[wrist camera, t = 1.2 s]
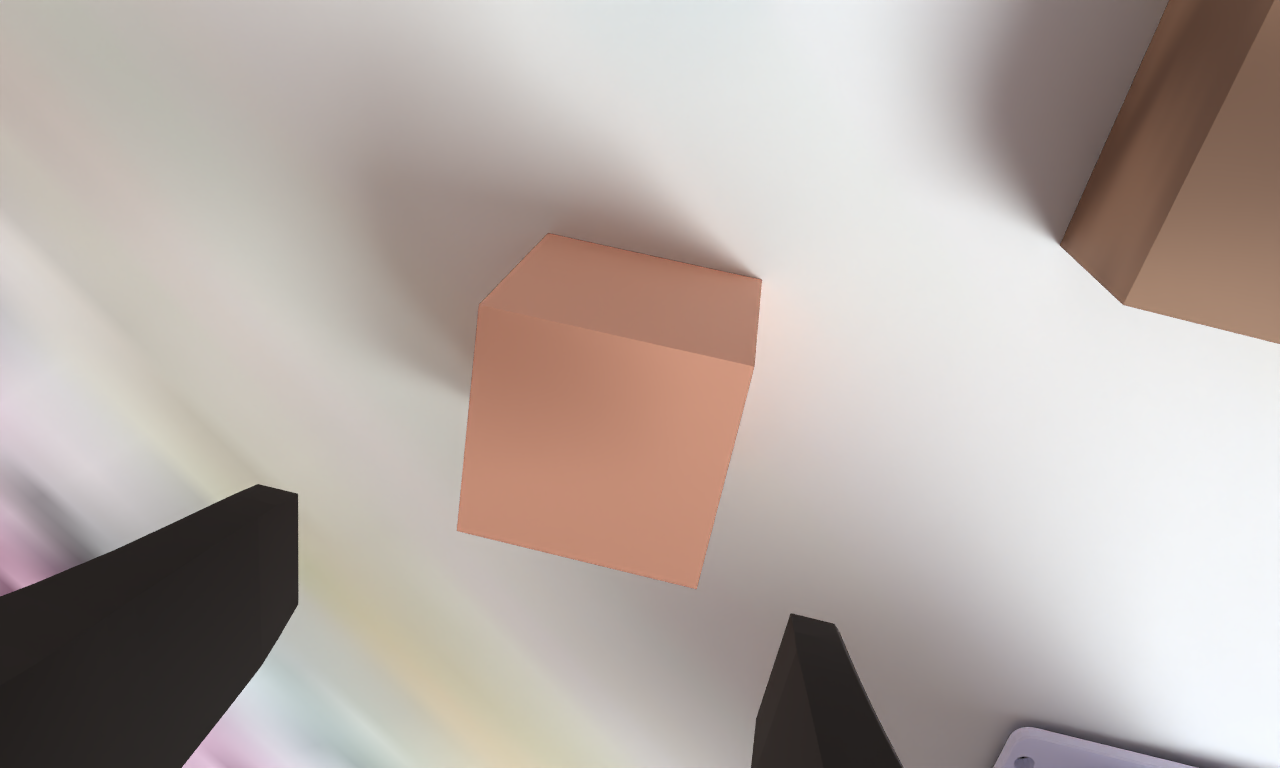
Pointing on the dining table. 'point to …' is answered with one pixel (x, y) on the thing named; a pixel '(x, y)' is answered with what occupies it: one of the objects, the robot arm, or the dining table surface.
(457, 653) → the dining table surface
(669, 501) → the terracotta cube
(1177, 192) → the walnut block
